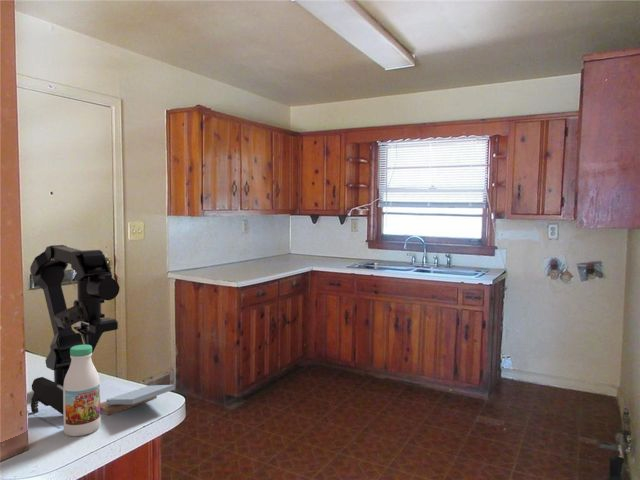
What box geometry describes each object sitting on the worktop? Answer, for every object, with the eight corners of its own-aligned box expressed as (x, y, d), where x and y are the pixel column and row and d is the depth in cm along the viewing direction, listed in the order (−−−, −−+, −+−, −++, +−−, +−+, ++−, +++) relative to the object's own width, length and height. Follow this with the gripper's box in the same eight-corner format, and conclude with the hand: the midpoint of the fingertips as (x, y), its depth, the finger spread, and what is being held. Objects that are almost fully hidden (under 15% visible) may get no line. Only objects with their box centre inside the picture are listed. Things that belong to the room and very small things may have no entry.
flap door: (105, 399, 117) (132, 399, 109) (146, 385, 127) (174, 384, 119) (106, 405, 117) (133, 406, 109) (147, 391, 126) (175, 390, 119)
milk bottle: (56, 433, 105) (54, 349, 103) (83, 419, 112) (82, 340, 111) (81, 440, 102) (79, 353, 101) (107, 425, 109) (106, 344, 108)
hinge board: (96, 409, 118) (95, 404, 118) (144, 392, 129) (144, 388, 129) (108, 415, 114) (108, 410, 114) (156, 397, 126) (156, 393, 126)
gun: (69, 441, 112) (85, 408, 111) (19, 406, 115) (34, 374, 113) (77, 435, 115) (93, 403, 114) (28, 402, 117) (43, 370, 116)
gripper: (42, 296, 122) (43, 353, 123) (76, 304, 111) (77, 367, 112) (83, 291, 131) (84, 343, 132) (118, 298, 120) (119, 356, 121)
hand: (90, 352), depth 124 cm, fingers closed
